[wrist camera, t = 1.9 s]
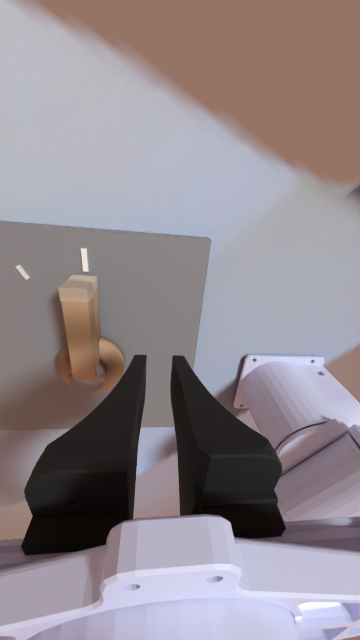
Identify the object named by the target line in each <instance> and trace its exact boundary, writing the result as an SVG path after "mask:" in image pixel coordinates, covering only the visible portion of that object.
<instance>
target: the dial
mask: <svg viewBox="0 0 360 640" xmlns="http://www.w3.org/2000/svg"><path fill="white" fill-rule="evenodd" d="M97 289H98V280H97V276H86V275H72V276H71V277H70V278H68V279H67V280H66V281H65V282H64V283H63V284H62V285H60V286H59V287H58V290H59V297H60V301H61V303H62V309H63V316H64V322H65V329H66V335H67V342H68V343H67V344H66V345H65V347H64V348H63V350H62V351H61V353H60V354H59V356H58V359H57V370H58V373H59V375H60V377H61V378H62V379H63V381H64V382H66V383H67V384H68V385H69V386H71V387H73V388H75V389H76V390H78V391H81V392H87V393H99V392H104V391H107V390H109V389H111V388H113V387H115V386H116V384H117V383H118V382H119V380H120V379H121V377H122V376H123V373H124V368H125V356H124V354H123V351H122V350H121V348H120V347H119V346H118V345H117V344H116V343H115V342H113V341H112V340H110V339H108V338H106V337H103V336H101V329H100V316H99V303H98V290H97Z"/></svg>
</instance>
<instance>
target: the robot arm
mask: <svg viewBox="0 0 360 640" xmlns="http://www.w3.org/2000/svg"><path fill="white" fill-rule="evenodd" d="M253 359H255V360H253ZM311 360H312V361H311ZM146 361H147V355H134V356H133V359H132V361H131V363H130V365H129V366H128V368H127V370H126V371H125V373H124V374H123V376H122V377H121V379H120V380H119V382H118V383H117V384H116V386H115V387H114V388H113V390H112V391H111V392H110V393H109V394H108V395H107V397H106V398H105V399H104V400H103V401H102V402H101V403H100V404H99V405H98V406H97V407H96V408H95V409H94V410H93V411H92V412H91V413H90V414H88V415H87V416H86V417H85V418H84V419H83V420H81V421H80V422H79V423H78V424H76V425H75V426H74V427H73V428H71V429H70V430H69V431H67V432H66V433H65V434H63V435H62V436H60V437H59V438H57V439H56V440H54V441H53V442H51V443H50V444H48V445H47V447H46V448H45V450H44V452H43V453H42V455H41V456H40V458H39V460H38V461H37V463H36V465H35V467H34V469H33V471H32V473H31V476H30V478H29V480H28V482H27V485H26V487H25V490H24V492H25V498H26V500H27V503H28V505H29V508H30V510H31V513H32V515H33V517H32V520H31V522H30V525H29V527H28V530H27V532H26V535H25V538H24V539H11V540H0V640H340V639H344V638H349V637H354V636H358V635H360V404H359V402H358V401H357V400H356V399H355V398H354V397H353V396H352V395H351V394H350V393H349V392H348V391H347V390H346V389H345V388H344V387H343V386H342V385H341V384H340V383H339V382H338V381H337V380H336V379H335V378H334V377H333V376H332V375H331V374H330V373H329V372H328V371H327V370H326V369H325V368H324V367H323V366H322V365H323V363H324V358H322V357H320V356H275V355H248V356H246V357H245V360H244V364H243V368H242V371H241V375H240V379H239V383H238V387H237V391H236V395H235V398H234V402H233V406H234V408H237V409H243V408H249V409H250V411H251V414H252V416H253V418H254V420H255V423H256V425H257V427H258V429H259V432H260V434H259V433H258V432H256V431H254V430H253V429H251V428H249V427H248V426H247V425H245V424H244V423H243V422H241V421H240V420H239V419H237V418H236V417H235V416H233V415H232V414H231V413H230V412H229V411H228V410H226V409H225V408H224V407H223V406H222V405H221V404H220V403H219V402H218V401H217V400H216V399H215V398H214V397H213V396H212V395H211V394H210V393H209V391H208V390H207V389H206V388H205V387H204V385H203V384H202V383H201V381H200V380H199V379H198V377H197V376H196V374H195V373H194V372H193V370H192V368H191V367H190V365H189V364H188V362H187V360H186V358H185V357H184V356H181V355H173V357H172V369H171V380H170V393H171V405H172V412H173V419H174V425H175V432H176V439H177V452H178V471H179V493H180V516H169V517H152V518H138V519H133V511H134V495H135V481H136V466H137V452H138V441H139V434H140V428H141V422H142V416H143V409H144V403H145V391H146ZM241 404H242V405H241Z"/></svg>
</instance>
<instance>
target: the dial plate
mask: <svg viewBox="0 0 360 640" xmlns="http://www.w3.org/2000/svg"><path fill="white" fill-rule="evenodd" d="M210 246H211V240H210V239H209V238H207V237H194V236H182V235H170V234H157V233H145V232H132V231H120V230H108V229H95V228H83V227H70V226H58V225H46V224H33V223H21V222H8V221H0V429H62V428H73V427H74V426H75V425H76V424H78V423H79V422H80V421H81V420H83V419H84V418H85V417H86V416H87V415H88V414H90V413H91V412H92V411H93V410H94V409H95V408H96V407H97V406H98V405H99V404H100V403H101V402H102V401H103V400H104V399H105V398H106V397H107V395H108V394H109V393H110V392H111V391H112V390H113V388H114V387H113V388H111V389H109V390H107V391H104V392H99V393H87V392H81V391H78V390H76V389H75V388H73V387H71V386H69V385H68V384H67V383H66V382H64V381H63V379H62V378H61V377H60V375H59V373H58V370H57V359H58V356H59V354H60V353H61V351H62V350H63V348H64V347H65V345H66V344H67V343H68V342H67V335H66V329H65V322H64V316H63V309H62V303H61V301H60V297H59V290H58V287H59V286H60V285H62V284H63V283H64V282H65V281H66V280H67V279H68V278H70V277H71V276H72V275H86V276H97V280H98V289H97V290H98V303H99V316H100V329H101V336H103V337H106V338H108V339H110V340H112V341H113V342H115V343H116V344H117V345H118V346H119V347H120V348H121V350H122V351H123V354H124V356H125V368H124V373H125V371H126V370H127V368H128V366H129V365H130V363H131V361H132V359H133V356H134V355H147V361H146V391H145V403H144V409H143V416H142V422H141V427H175V425H174V419H173V412H172V405H171V393H170V380H171V369H172V357H173V355H181V356H184V357H185V358H186V360H187V362H188V364H189V365H190V367H191V368H192V370H193V367H194V360H195V353H196V346H197V339H198V332H199V324H200V317H201V310H202V303H203V296H204V289H205V282H206V275H207V267H208V260H209V253H210ZM124 373H123V374H124Z"/></svg>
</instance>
